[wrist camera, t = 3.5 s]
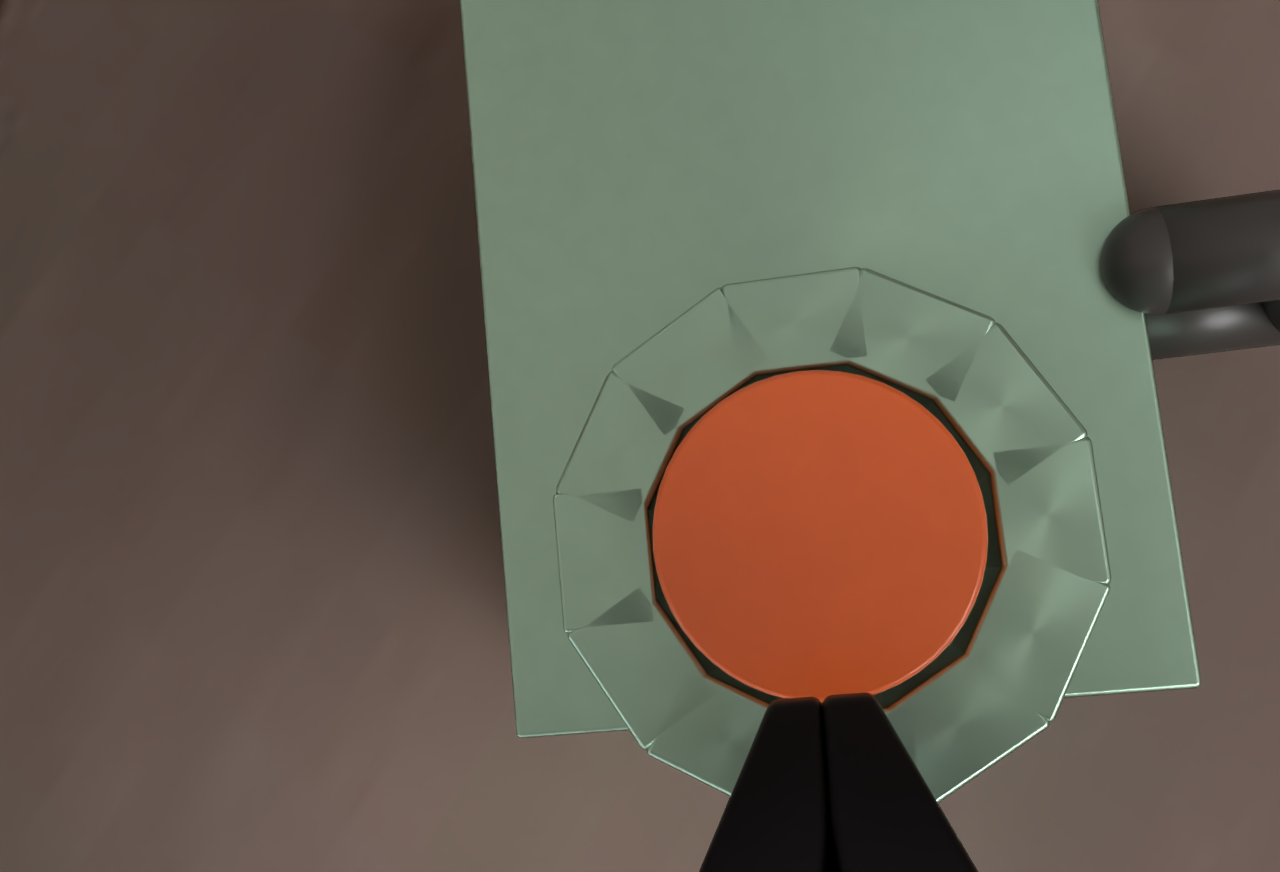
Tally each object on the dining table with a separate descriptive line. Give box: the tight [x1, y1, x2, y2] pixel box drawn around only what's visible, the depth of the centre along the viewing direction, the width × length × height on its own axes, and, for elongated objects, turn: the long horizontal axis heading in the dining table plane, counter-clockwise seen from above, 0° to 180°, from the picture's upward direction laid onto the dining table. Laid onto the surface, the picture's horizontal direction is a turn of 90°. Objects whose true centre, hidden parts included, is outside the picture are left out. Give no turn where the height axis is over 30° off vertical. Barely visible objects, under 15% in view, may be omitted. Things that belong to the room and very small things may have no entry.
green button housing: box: [460, 0, 1201, 803], centre depth 18 cm, size 12×9×8 cm
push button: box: [652, 370, 988, 703], centre depth 14 cm, size 4×4×2 cm
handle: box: [1100, 190, 1280, 360], centre depth 17 cm, size 1×4×5 cm, turn 95°
